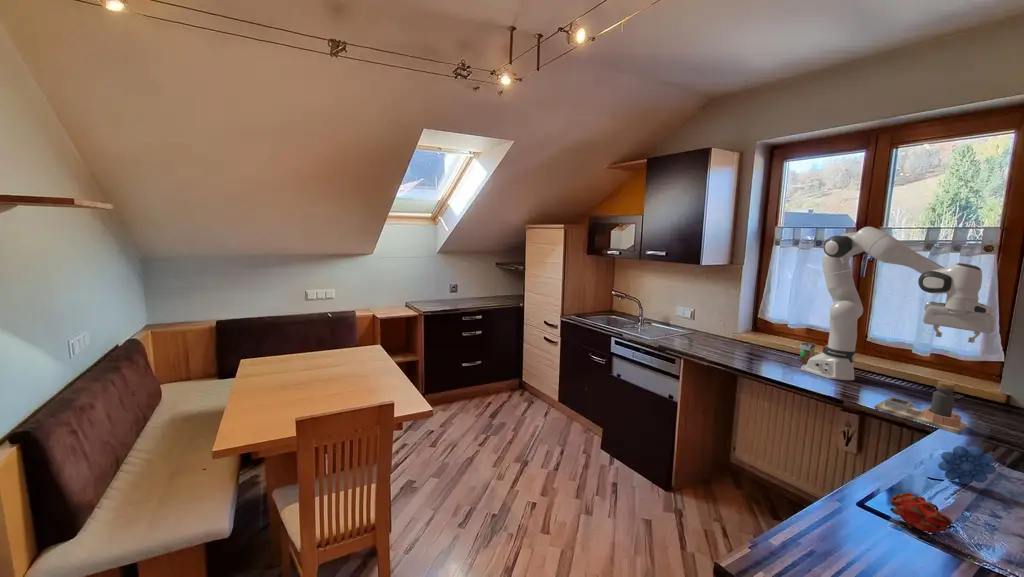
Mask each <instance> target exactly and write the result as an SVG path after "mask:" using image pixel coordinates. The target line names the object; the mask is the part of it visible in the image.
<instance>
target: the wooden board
mask: <svg viewBox="0 0 1024 577" xmlns="http://www.w3.org/2000/svg"><path fill="white" fill-rule="evenodd" d="M885 401H886V399H885V400H883V401H881V402H879V403H878V404H875V405H874V408H875V409H878V410H881V411H880V412H882V411H884V412H883V413H885V412H887V413H886V414H888V413H889V415H892V416H895V417H899V418H902V419H905V418H906V419H905V420H909V419H910V420H909V421H912V420H915V421H919V422H922V423H925V424H929V425H932V426H935V427H934V428H936V427H937V428H936V429H939V430H943V431H947V432H949V433H953V434H956V435H959V434H960V433H961V432H962V431H963V430H965V428H967V426H968V425H967V424H968V423H967V422H965V421H962V420H961V423H960V425H959V426H947V425H942V424H938V423H935V422H932V421H930V420H927V419H925V418H924V417H923V415H924V410H923V409H917V408H914V407H912V410H911V411H909V412H908V413H904V412H901V411H897V410H894V409H890V408H887V407H885ZM875 409H874V410H875ZM878 410H877V411H878ZM915 421H914V422H915ZM919 422H918V423H919ZM922 423H921V424H922ZM925 424H924V425H925ZM929 425H928V426H929ZM932 426H931V427H932Z"/></svg>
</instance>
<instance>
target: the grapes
mask: <svg viewBox="0 0 1024 577" xmlns="http://www.w3.org/2000/svg"><path fill="white" fill-rule="evenodd" d="M940 457H941V459H942V461H939V462H938V464H937V467H938V469H939V470H940V471H943V472H944V477H945V478H946V479H947V480H949V481H956V480H957V481H958V482H959V483H960V484H961V483H963V484H962V485H964V484H967V485H966V486H968V485H972V483H973V482H976V483H980V484H982V483H985V482H987V481H988V479H989V478H988V476H989V475H990V476H991V475H994V474H995V473H996V472H997V467H996V466H995V465H993V463H994V462H995V458H994V456H993V455H992V454H990V453H984V452H983V449H982V448H980V447H978V446H971V447H968V448H966V446H962V445H956V446H955V447H953V449H952V452H951V451H944V452H942V454H941V455H940Z"/></svg>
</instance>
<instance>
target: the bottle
mask: <svg viewBox="0 0 1024 577" xmlns="http://www.w3.org/2000/svg"><path fill="white" fill-rule="evenodd" d="M955 386H956V384H955V383H953V382H950V381H949V382H948V381H946V380H945V381H944V380H943V381H942V380H939V381H937V385H936V386H935V388H936V389H935V390H936V391H935V390H934V391H933V394H932V398H931V405H930V408H931V409H930V412H932V413H934V414H937V415H941V416H945V417H951V414H952V412H953V409H954V408H953V407H954V404H955V395H954V394H953V393H955V391H956V390H955Z"/></svg>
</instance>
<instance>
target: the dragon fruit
mask: <svg viewBox="0 0 1024 577" xmlns="http://www.w3.org/2000/svg"><path fill="white" fill-rule="evenodd" d="M889 503H890V504H891V506H893V507H891V508H890V509H889V510H890V511H891V513H892V514H894V515H896V516H900V518H901V519H902V521H903V520H904V521H905V522H904V523H906V526H907V528H909V529H912V528H913V527H914V528H916V529H917V530H919V529H920V531H921V532H923V531H928V532H933V533H937V532H946V530H950V529H954V528H955V525H954V522H953V521H952V519H951V518H950V517H949V516H948V515H946V514H944V513H942V512H940V511H939V509H940V508H939V507H938V505H937V504H934V503H932V502H931V501H926V498H925V497H923V496H917V495H916V494H913V493H911V492H909V491H906V492H905V493H902V492H900V493H898V494H893V496H892V498H890V499H889Z"/></svg>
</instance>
